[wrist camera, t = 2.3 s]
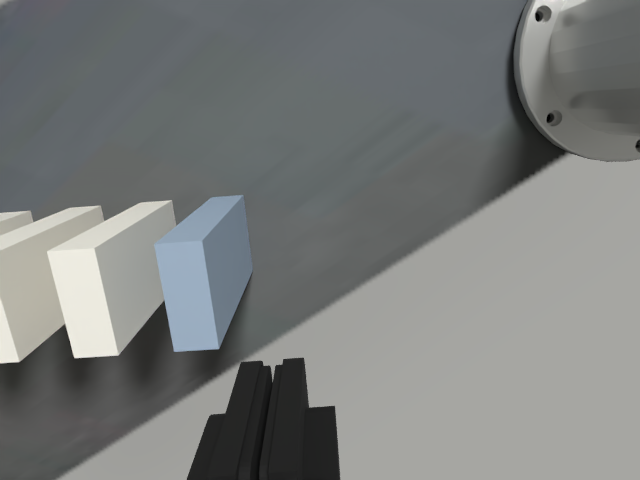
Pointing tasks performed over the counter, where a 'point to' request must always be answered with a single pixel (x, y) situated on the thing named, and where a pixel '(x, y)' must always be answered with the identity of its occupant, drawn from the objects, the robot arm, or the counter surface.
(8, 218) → the domino
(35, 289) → the domino
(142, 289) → the domino
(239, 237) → the domino
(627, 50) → the robot arm
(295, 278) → the counter surface
